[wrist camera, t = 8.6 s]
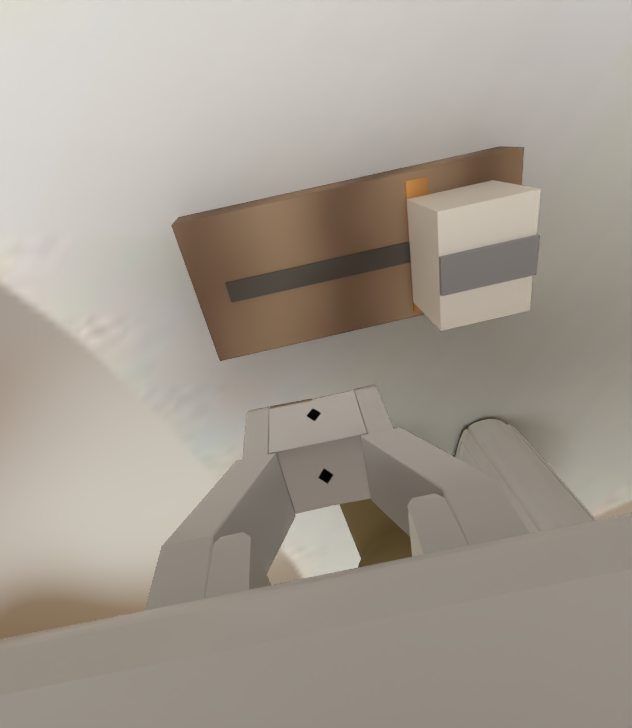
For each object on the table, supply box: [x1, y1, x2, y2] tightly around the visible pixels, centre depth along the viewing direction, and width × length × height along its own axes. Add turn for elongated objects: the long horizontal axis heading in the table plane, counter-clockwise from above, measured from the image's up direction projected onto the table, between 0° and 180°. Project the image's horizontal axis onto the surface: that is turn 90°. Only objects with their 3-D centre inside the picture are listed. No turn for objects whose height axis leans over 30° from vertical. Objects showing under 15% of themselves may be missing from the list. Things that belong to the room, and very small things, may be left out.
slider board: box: [172, 147, 524, 361], centre depth 20 cm, size 16×7×2 cm, turn 99°
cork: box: [340, 499, 412, 568], centre depth 24 cm, size 6×6×11 cm
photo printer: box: [455, 419, 596, 533], centre depth 25 cm, size 10×4×12 cm, turn 0°
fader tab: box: [407, 180, 541, 331], centre depth 18 cm, size 4×5×4 cm
